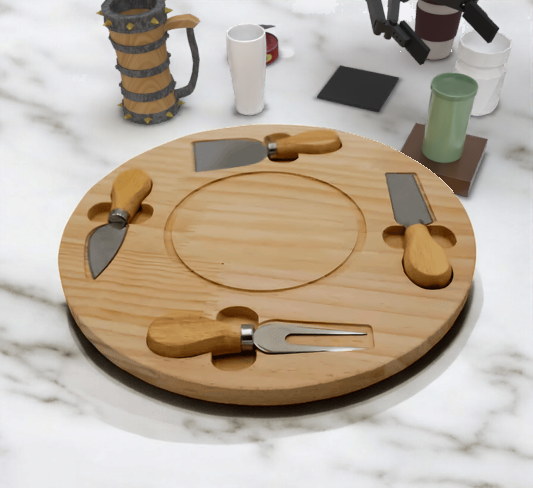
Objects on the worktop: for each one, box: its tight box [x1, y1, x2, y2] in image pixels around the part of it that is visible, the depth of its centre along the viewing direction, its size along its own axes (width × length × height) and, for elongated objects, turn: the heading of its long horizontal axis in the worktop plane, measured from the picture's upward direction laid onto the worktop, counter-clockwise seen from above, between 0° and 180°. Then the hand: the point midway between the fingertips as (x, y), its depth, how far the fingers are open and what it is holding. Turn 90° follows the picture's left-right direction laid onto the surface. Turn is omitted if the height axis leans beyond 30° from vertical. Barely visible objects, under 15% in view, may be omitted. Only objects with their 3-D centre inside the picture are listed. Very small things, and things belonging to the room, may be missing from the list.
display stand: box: [399, 122, 489, 198], centre depth 105 cm, size 12×12×3 cm
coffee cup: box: [414, 0, 463, 61], centre depth 127 cm, size 10×10×15 cm
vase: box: [452, 29, 513, 117], centre depth 115 cm, size 9×9×12 cm
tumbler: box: [422, 72, 479, 163], centre depth 100 cm, size 7×7×12 cm
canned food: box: [258, 24, 280, 67], centre depth 132 cm, size 11×10×10 cm
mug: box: [95, 0, 201, 126], centre depth 114 cm, size 13×17×20 cm
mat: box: [316, 64, 400, 113], centre depth 123 cm, size 12×12×1 cm
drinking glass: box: [225, 22, 267, 116], centre depth 115 cm, size 7×7×15 cm
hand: (460, 46), depth 96 cm, fingers open, 13 cm apart
